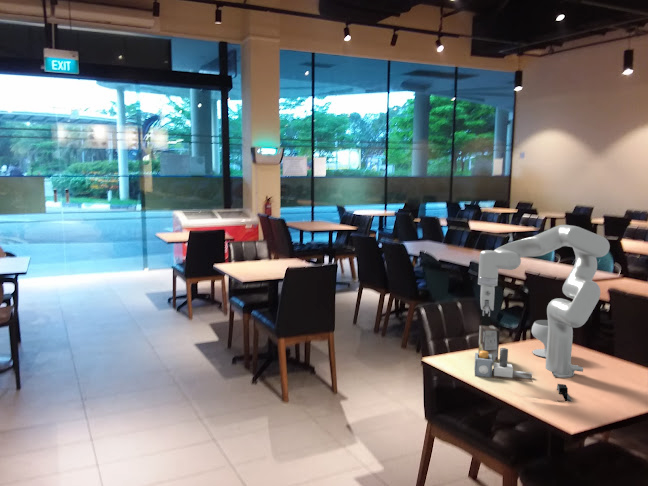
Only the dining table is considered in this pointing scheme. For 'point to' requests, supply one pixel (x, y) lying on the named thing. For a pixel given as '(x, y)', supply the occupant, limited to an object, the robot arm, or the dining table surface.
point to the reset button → (483, 354)
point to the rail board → (515, 376)
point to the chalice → (540, 336)
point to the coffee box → (489, 341)
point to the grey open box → (483, 366)
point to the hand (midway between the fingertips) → (485, 322)
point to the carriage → (503, 365)
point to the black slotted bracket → (563, 392)
